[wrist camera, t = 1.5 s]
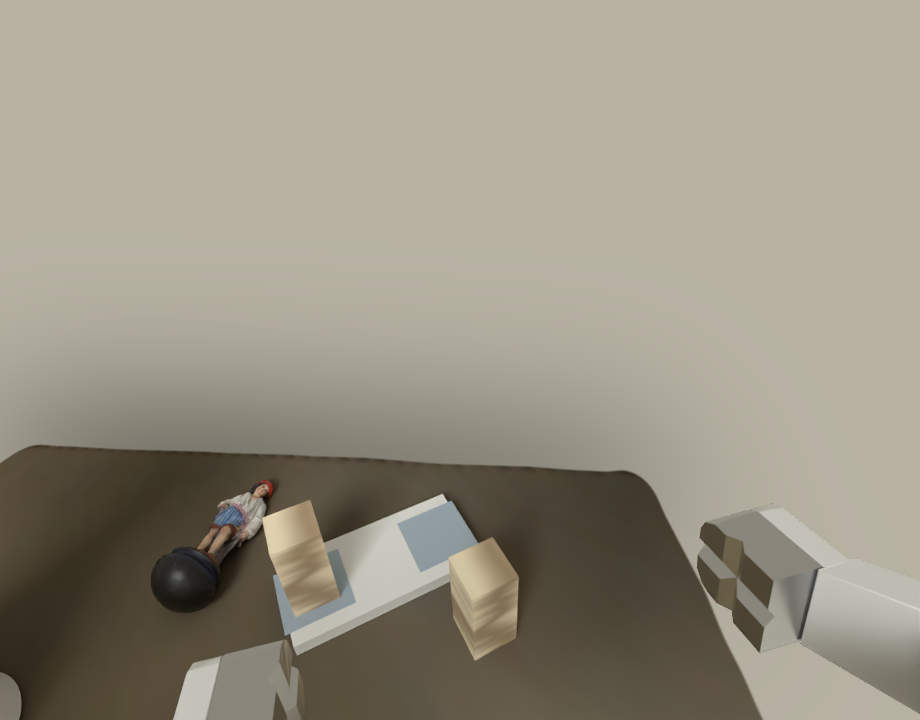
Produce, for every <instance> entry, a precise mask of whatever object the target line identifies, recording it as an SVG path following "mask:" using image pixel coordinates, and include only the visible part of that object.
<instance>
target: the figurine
mask: <svg viewBox="0 0 920 720" xmlns="http://www.w3.org/2000/svg"><path fill="white" fill-rule="evenodd" d="M272 490H273V484H272V483H271V482H269V481H266V480H263V481H260V482H258V483H257V484H255V485H254V487H253V488H252V491H251V492H247V493H245V494H242V495H238V496H236V497H235V498H233V499H228V500H225V501H222V502H221V503H220V504H219V505H218V510H219V512H218V513H217V515H216V517H215V519H214V523H213V524H211V526H210V533H209V534H208V535H207V536H206V537H205V538H204V539H203V541H202V542H201V544H200V545H199V547H198V548H197V549H196V548H192V547H178V548H176V549H174V550H173V551H172V553H169V554H166V555H163V556H162V558H160V559H159V560H158V561H157V563H156V564H155V567H154V568H153V571H152V574H151V588H152V592H153V594H154V596H155V598H156V599H157V600H158V601H159V602H160V603H161V605H163V606H164V607H166V608H167V609H169V610H171V611H174V612H180V613H188V612H194V611H197V610H200V609H202V608H203V607H205V606H207V605H208V604H209V603H210V601H211V600H212V598H213V596H214V594H215V588H216V587H217V586H218V585H219V583H220V567H219V565H220V564H221V562H222V560H223V559H224V557H225V556H226V555H227V554H228V553H229V552H230V551H231V549H232V548H233V547H241V544H242V542H243V541H245V539H246V540H249V539H251V538H252V537H254V535H255V534H256V533H257V531H258V530H259V528H260V527H261V525H262V524H263V521H262V518H263V517H264V514H265V511H266V507H267V504H266V502H265V500H267V499H269V498H270V496H271V494H272Z"/></svg>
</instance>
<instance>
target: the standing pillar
mask: <svg viewBox="0 0 920 720" xmlns="http://www.w3.org/2000/svg"><path fill="white" fill-rule="evenodd" d="M262 521H263V526H264V530H265V535H266V540H267V545H268V550H269V555H270V558H271V560H272V562H273V565H274V567H275V570H276V572H277V574H278V577H279V579H280V582H281V584H282V586H283V589H284V591H285V594H286V596H287V598H288V601H289V603H290V606H291V608H292V610H293V613H294V615H295V618H296V617H299V616H301V615H303V614H305V613H307V612H309V611H312V610H314V609H316V608H318V607H320V606H323V605H325V604H327V603H329V602H331V601H334V600H336V599H338V598H340V594H339V591H338V588H337V584H336V581H335V578H334V575H333V572H332V568H331V565H330V562H329V559H328V555H327V552H326V549H325V546H324V543H323V539H322V536H321V533H320V530H319V527H318V523H317V520H316V517H315V514H314V511H313V508H312V505H311V501H310V500H308V501H306V502H303V503H300V504H298V505H295V506H292V507H290V508H287V509H284V510H282V511H279V512H276V513H274V514H271V515H269V516H266V517H263V518H262Z"/></svg>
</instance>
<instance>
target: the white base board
mask: <svg viewBox="0 0 920 720" xmlns="http://www.w3.org/2000/svg"><path fill="white" fill-rule="evenodd" d="M476 544H478V542H477V541H476V539H475V537H474V536H473V534H472V533H471V531H470V529H469V528H468V526H467V525H466V523H465V521H464V520H463V518H462V517H461V515H460V513H459V512H458V510H457V509H456V507H455V505H454V504H453V502H452V501H450V502H447V500H446V499H445V497H444V495H443V494H441V495H439V496H436V497H434V498H432V499H429V500H427V501H424V502H422V503H420V504H417V505H415V506H412V507H410V508H407V509H405V510H403V511H400V512H398V513H395V514H393V515H390V516H388V517H386V518H383V519H381V520H378V521H376V522H374V523H371V524H369V525H366V526H364V527H361V528H359V529H357V530H354V531H352V532H349V533H347V534H344V535H342V536H340V537H337V538H335V539H332V540H330V541H327V542H325V543H324V546H325V549H326V552H327V555H328V559H329V562H330V565H331V568H332V572H333V575H334V578H335V581H336V584H337V588H338V591H339V594H340V598H338V599H336V600H334V601H331V602H329V603H327V604H325V605H323V606H320V607H318V608H316V609H314V610H312V611H309V612H307V613H305V614H303V615H301V616H299V617H296V618H295V615H294V613H293V610H292V608H291V606H290V603H289V601H288V598H287V596H286V594H285V591H284V589H283V586H282V584H281V582H280V579H279V577H278V574H276V575H274V576H273V579H274V584H275V589H276V594H277V599H278V604H279V609H280V613H281V618H282V623H283V628H284V633H285V636H286V635H288V634H291V639H292V643H293V648H294V650H295V652H296V654H297V655H299V654H301V653H303V652H305V651H308V650H310V649H312V648H314V647H316V646H318V645H320V644H322V643H324V642H326V641H328V640H330V639H332V638H334V637H336V636H339V635H341V634H343V633H345V632H347V631H349V630H351V629H353V628H355V627H357V626H359V625H361V624H363V623H365V622H368V621H370V620H372V619H374V618H376V617H378V616H380V615H382V614H384V613H386V612H388V611H390V610H392V609H394V608H396V607H399V606H401V605H403V604H405V603H407V602H409V601H411V600H413V599H415V598H417V597H419V596H421V595H423V594H425V593H427V592H430V591H432V590H434V589H436V588H438V587H440V586H442V585H444V584H446V583H448V582H450V572H449V561H448V557H450V556H452V555H455V554H457V553H459V552H461V551H463V550H465V549H468V548H470V547H472V546H474V545H476Z"/></svg>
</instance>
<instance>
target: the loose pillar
mask: <svg viewBox="0 0 920 720" xmlns="http://www.w3.org/2000/svg"><path fill="white" fill-rule="evenodd" d="M448 561H449V572H450V583H451V594H452V605H453V616H454V620H455V622H456V624H457V626H458V628H459V630H460V632H461V634H462V636H463V638H464V640H465V642H466V644H467V646H468V648H469V650H470V652H471V654H472V656H473V658H474V660H475V661H476V660H477V659H479V658H481V657H483V656H485V655H486V654H488V653H490V652H492V651H494V650H495V649H497V648H499V647H501V646H503V645H504V644H506V643H508V642H510V641H512V640H513V639H515V638H516V632H517V607H518V582H519V576H518V575H517V573H516V572H515V570H514V569H513V567H512V566H511V564H510V563H509V561H508V560H507V558H506V557H505V555H504V554H503V552H502V551H501V549H500V548H499V546H498V545H497V543H496V542H495V540H494V539H493V537H491V538H489V539H487V540H485V541H483V542H480V543H478V544H476V545H474V546H472V547H470V548H468V549H465V550H463V551H461V552H459V553H457V554H455V555H452V556H450V557H448Z"/></svg>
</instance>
